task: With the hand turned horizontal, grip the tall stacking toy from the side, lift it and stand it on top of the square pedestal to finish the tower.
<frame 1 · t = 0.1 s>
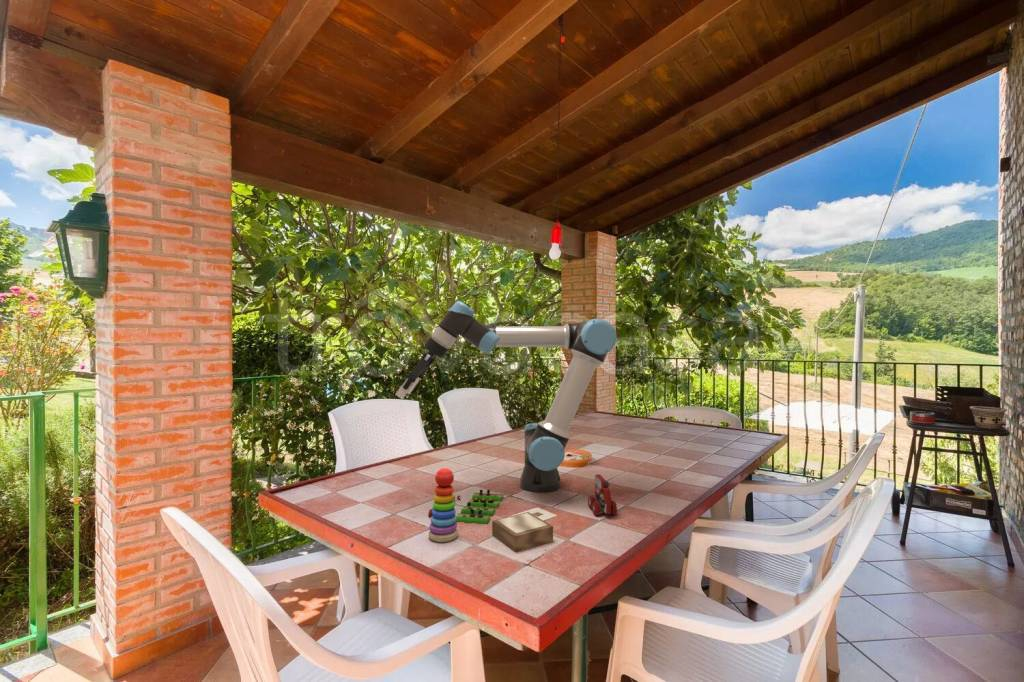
hand: (402, 394, 155), 36 cm above the table, tool tilted 35°, fingers open, 13 cm apart
toy garden set: (467, 510, 149), on the table
toy fire truck: (602, 512, 146), on the table
instruction page: (532, 516, 142), on the table
stacking toy: (443, 537, 127), on the table
pedestal: (522, 538, 126), on the table
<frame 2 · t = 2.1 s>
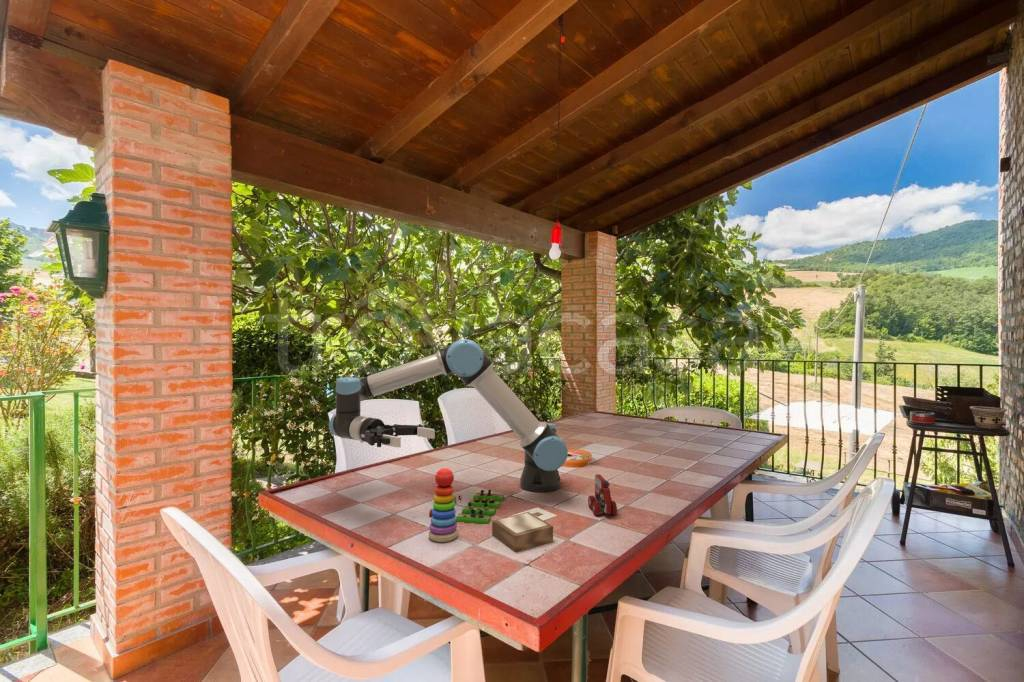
hand: (417, 438, 132), 26 cm above the table, tool horizontal, fingers open, 13 cm apart
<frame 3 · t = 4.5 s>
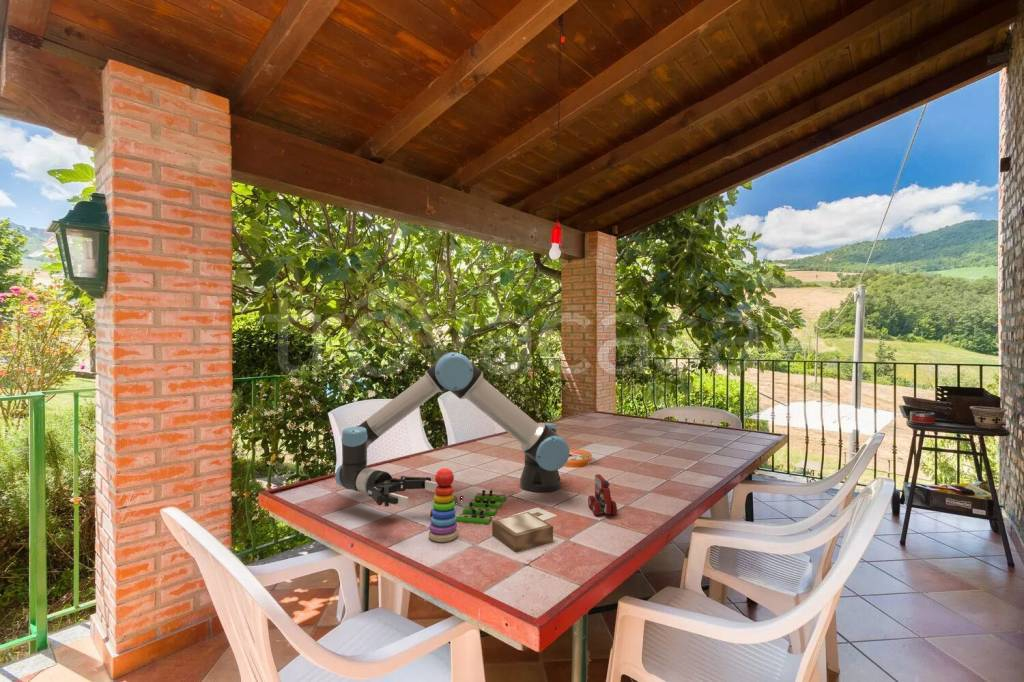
hand: (425, 495, 130), 10 cm above the table, tool horizontal, fingers open, 13 cm apart
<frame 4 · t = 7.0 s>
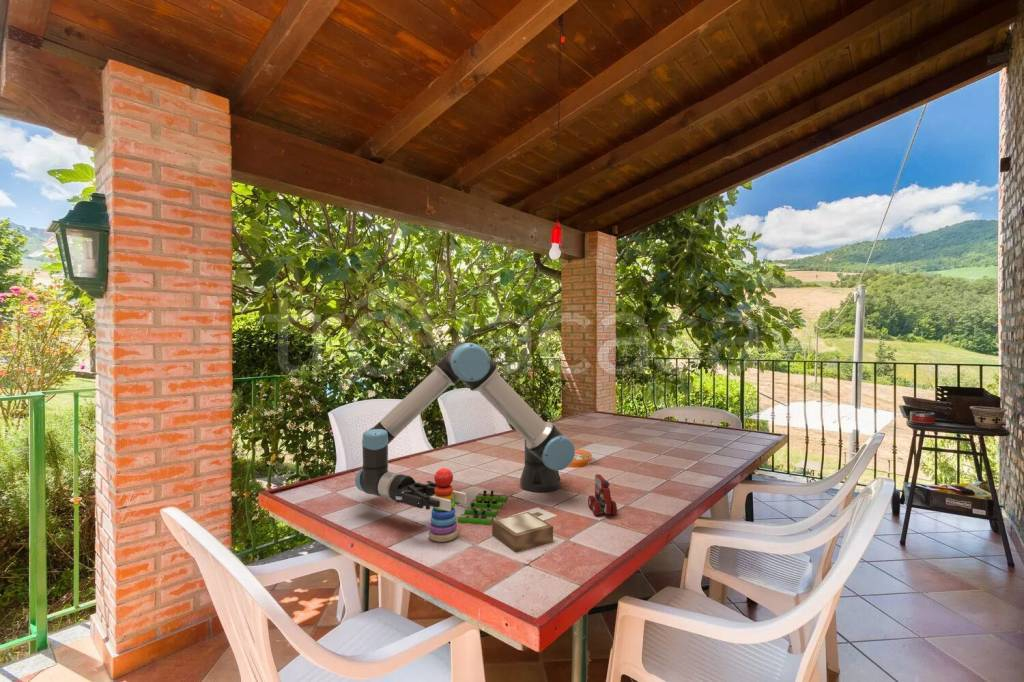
hand: (458, 502, 124), 11 cm above the table, tool horizontal, fingers closed on stacking toy, 6 cm apart
stacking toy: (443, 537, 127), on the table, touching gripper
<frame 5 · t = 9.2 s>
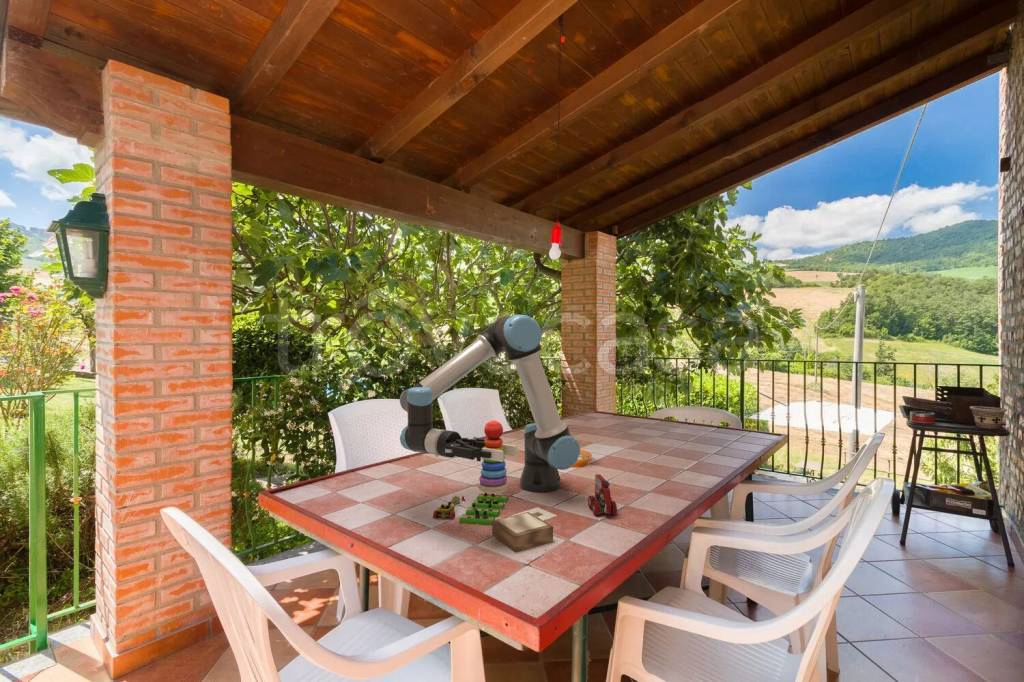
hand: (509, 453, 123), 24 cm above the table, tool horizontal, fingers closed on stacking toy, 6 cm apart
stacking toy: (493, 490, 126), point 13 cm above the table, touching gripper
when the fingers open (16 cm above the table, at t = 11.5 s): stacking toy drops 1 cm, resting on pedestal.
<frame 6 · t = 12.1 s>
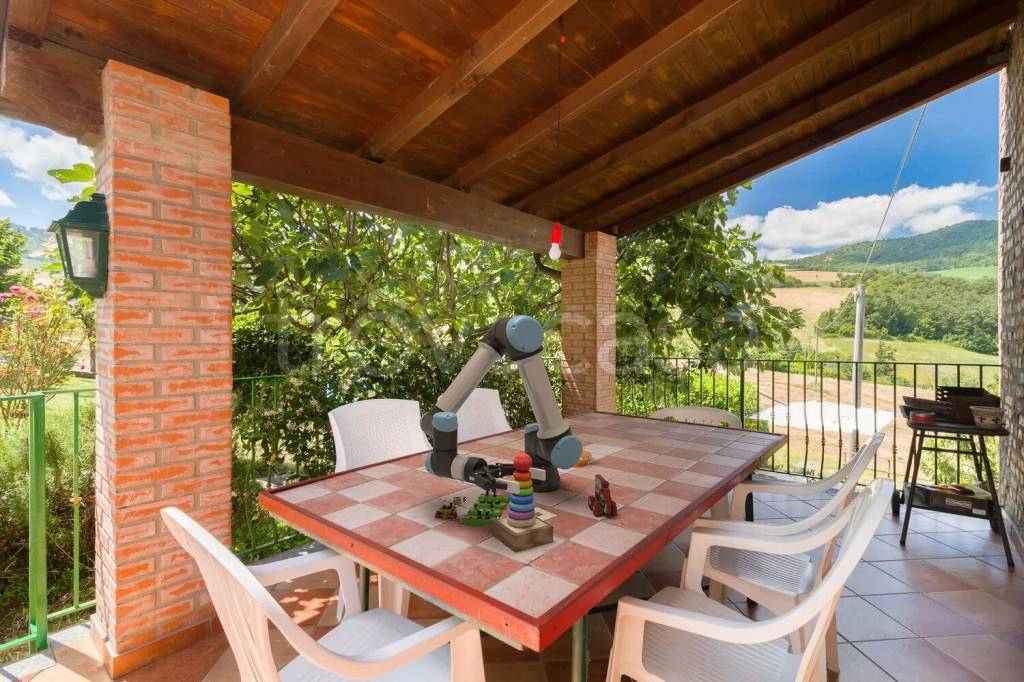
hand: (532, 481, 125), 16 cm above the table, tool horizontal, fingers open, 13 cm apart
stacking toy: (521, 523, 126), point 4 cm above the table, touching pedestal
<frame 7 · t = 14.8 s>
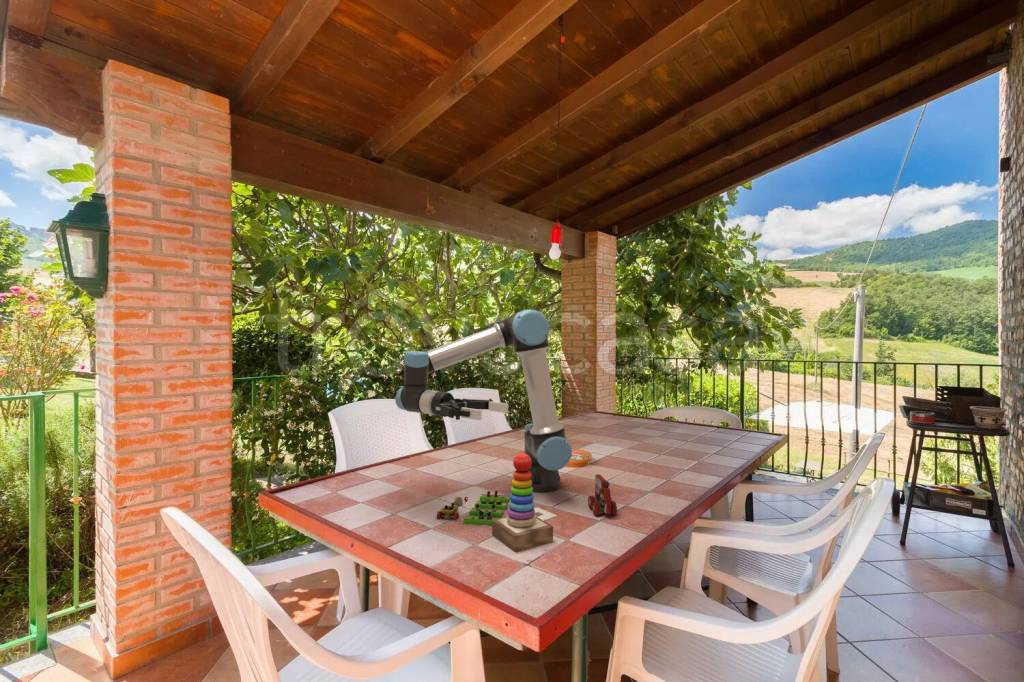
hand: (494, 411, 133), 34 cm above the table, tool horizontal, fingers open, 13 cm apart
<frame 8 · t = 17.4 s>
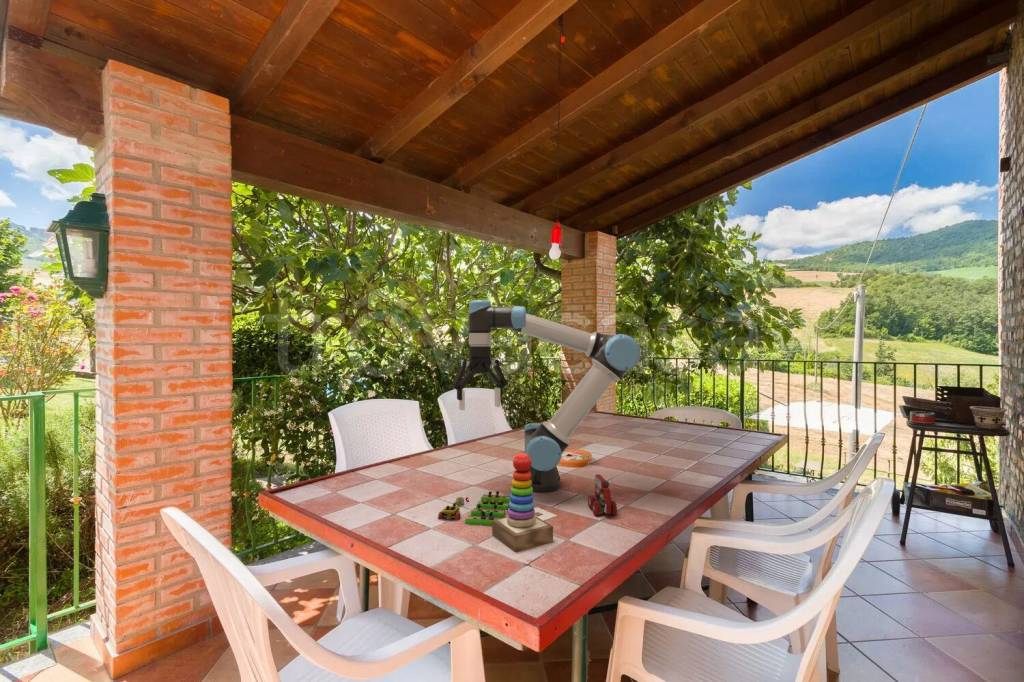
hand: (480, 408, 158), 31 cm above the table, tool pointing down, fingers open, 13 cm apart
at the end: stacking toy inside the target area on the pedestal (0.2 cm from its centre), point 4.1 cm above the pedestal's base; stacking toy tilted 0°; the gripper is holding nothing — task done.
